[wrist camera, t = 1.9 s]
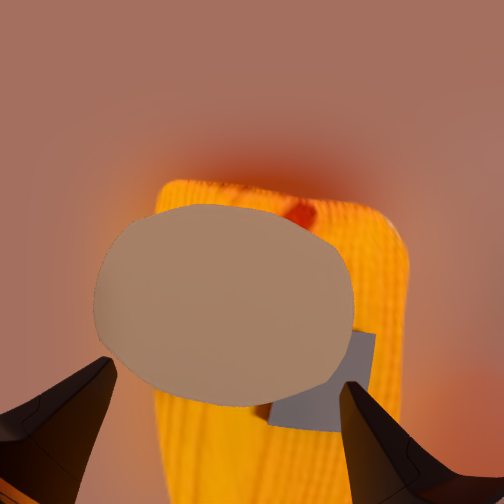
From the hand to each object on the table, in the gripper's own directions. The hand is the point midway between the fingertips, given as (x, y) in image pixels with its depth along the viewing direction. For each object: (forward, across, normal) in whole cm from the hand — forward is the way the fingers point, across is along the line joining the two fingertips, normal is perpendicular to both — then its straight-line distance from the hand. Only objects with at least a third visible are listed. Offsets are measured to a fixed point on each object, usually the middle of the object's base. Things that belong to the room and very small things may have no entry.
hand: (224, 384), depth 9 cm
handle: (+9, 0, +6) cm, 11 cm away
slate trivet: (+8, -6, +8) cm, 13 cm away
